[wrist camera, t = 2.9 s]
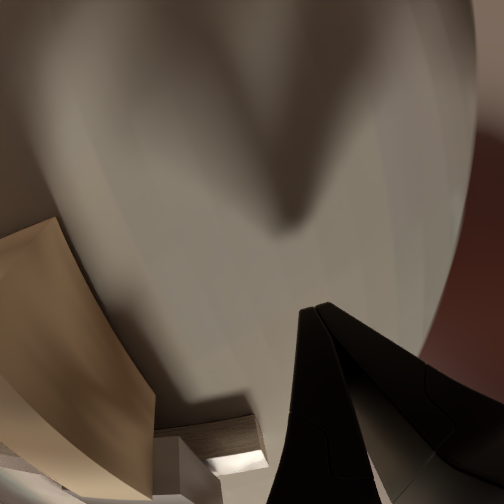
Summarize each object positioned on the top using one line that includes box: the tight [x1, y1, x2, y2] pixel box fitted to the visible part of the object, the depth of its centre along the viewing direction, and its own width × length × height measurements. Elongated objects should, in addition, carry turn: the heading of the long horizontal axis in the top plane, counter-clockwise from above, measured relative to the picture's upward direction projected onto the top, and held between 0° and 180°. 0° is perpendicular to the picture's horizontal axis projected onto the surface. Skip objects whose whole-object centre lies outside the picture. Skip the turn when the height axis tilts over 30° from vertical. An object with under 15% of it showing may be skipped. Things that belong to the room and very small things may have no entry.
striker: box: [0, 217, 223, 504], centre depth 9 cm, size 14×5×5 cm, turn 11°
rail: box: [0, 414, 269, 476], centre depth 13 cm, size 2×31×2 cm, turn 101°
